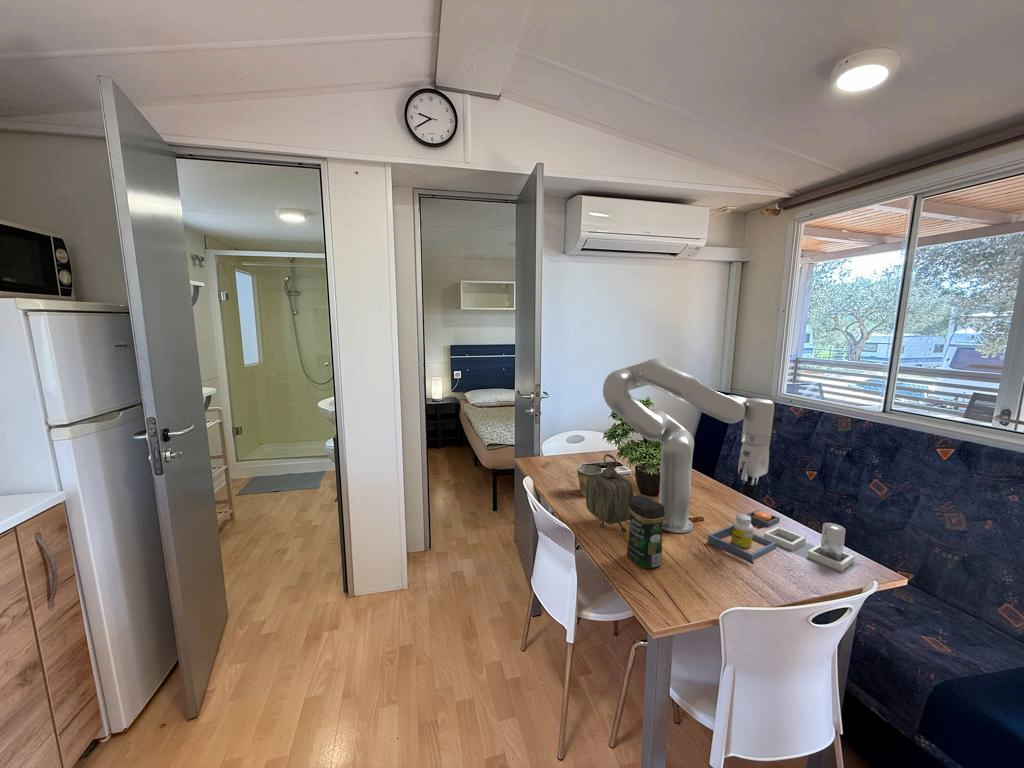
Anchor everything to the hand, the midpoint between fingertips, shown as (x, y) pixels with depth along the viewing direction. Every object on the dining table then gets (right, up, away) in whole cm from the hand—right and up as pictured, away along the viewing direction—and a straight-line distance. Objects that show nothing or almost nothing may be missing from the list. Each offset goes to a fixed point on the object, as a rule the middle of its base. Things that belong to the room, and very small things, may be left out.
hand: (748, 495), depth 124 cm
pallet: (+14, -16, -6) cm, 21 cm away
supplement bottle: (-4, -15, -2) cm, 16 cm away
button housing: (+12, -13, +13) cm, 22 cm away
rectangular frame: (-4, -15, -2) cm, 16 cm away
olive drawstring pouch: (-42, -14, +9) cm, 45 cm away
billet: (+17, -15, -11) cm, 25 cm away
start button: (+13, -12, +13) cm, 21 cm away
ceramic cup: (-42, -10, +39) cm, 58 cm away
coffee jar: (-36, -16, -10) cm, 41 cm away
